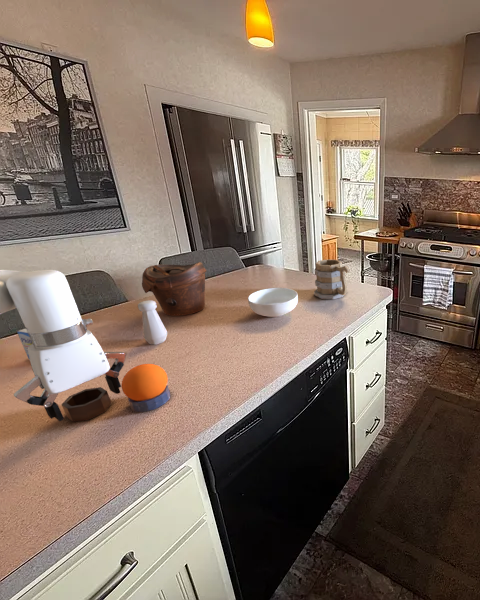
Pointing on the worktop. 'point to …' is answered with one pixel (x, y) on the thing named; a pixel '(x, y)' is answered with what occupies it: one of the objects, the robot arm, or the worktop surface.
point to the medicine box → (25, 339)
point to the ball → (144, 382)
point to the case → (176, 287)
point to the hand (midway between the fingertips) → (88, 404)
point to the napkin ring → (86, 404)
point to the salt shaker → (152, 323)
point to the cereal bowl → (273, 301)
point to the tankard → (330, 279)
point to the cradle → (150, 402)
